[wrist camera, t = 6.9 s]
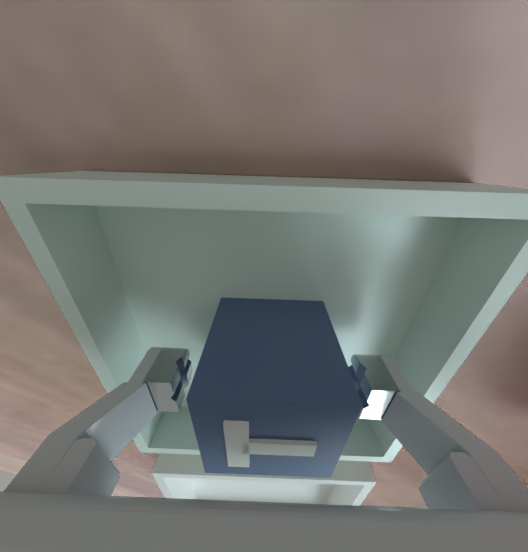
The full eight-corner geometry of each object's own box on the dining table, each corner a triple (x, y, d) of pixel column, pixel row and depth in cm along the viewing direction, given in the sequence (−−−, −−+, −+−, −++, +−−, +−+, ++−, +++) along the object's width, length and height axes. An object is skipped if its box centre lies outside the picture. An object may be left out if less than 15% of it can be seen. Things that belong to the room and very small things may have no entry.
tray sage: (474, 182, 8) (583, 195, 5) (368, 407, 14) (390, 462, 12) (83, 170, 8) (-14, 176, 5) (163, 399, 15) (139, 452, 12)
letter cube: (323, 300, 9) (364, 410, 5) (309, 368, 11) (331, 482, 7) (221, 297, 9) (184, 403, 5) (227, 365, 11) (204, 477, 7)
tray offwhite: (358, 428, 16) (376, 481, 13) (326, 497, 23) (334, 541, 20) (170, 421, 16) (151, 473, 13) (195, 491, 23) (185, 535, 20)
